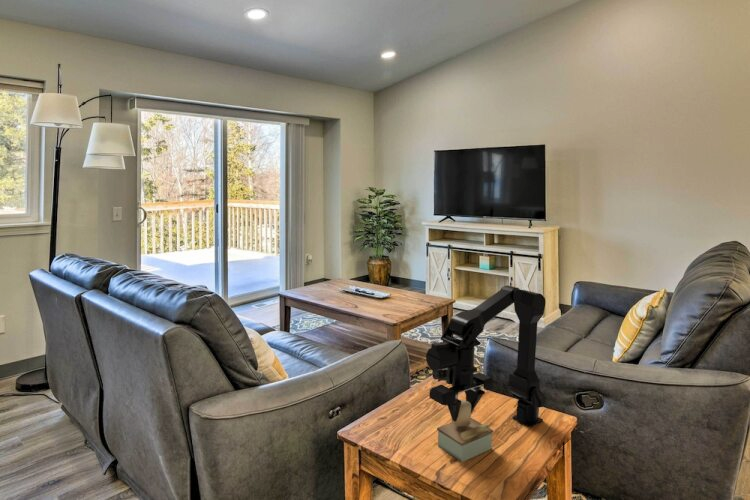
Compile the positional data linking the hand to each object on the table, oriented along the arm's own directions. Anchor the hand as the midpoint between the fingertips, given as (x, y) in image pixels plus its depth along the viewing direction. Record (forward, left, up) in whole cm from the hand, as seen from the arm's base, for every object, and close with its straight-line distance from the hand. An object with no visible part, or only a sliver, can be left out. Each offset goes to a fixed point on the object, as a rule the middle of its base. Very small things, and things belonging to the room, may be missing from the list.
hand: (461, 418), depth 123 cm
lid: (0, +1, -3) cm, 3 cm away
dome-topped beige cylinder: (0, 0, -1) cm, 1 cm away
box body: (0, +1, -8) cm, 8 cm away
